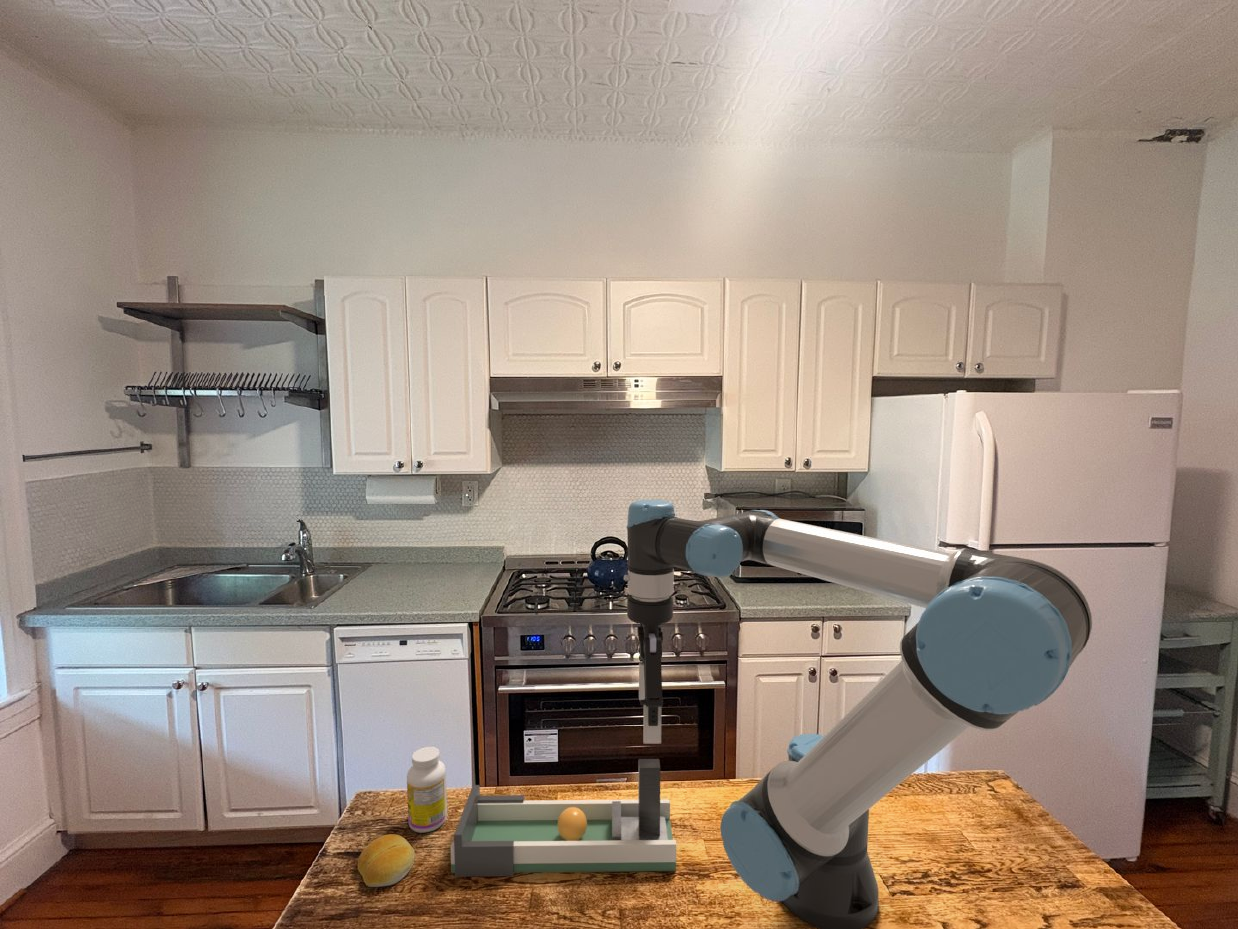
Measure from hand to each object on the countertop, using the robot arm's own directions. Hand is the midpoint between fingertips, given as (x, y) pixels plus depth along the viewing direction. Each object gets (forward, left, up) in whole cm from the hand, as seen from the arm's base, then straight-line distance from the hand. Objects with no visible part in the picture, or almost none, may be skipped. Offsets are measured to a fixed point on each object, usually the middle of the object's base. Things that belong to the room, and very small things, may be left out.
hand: (649, 719), depth 97 cm
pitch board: (+13, +5, -22) cm, 26 cm away
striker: (+1, +1, -21) cm, 21 cm away
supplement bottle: (+39, +9, -23) cm, 46 cm away
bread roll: (+38, +20, -23) cm, 49 cm away
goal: (+24, +10, -22) cm, 34 cm away
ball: (+12, +5, -18) cm, 23 cm away
